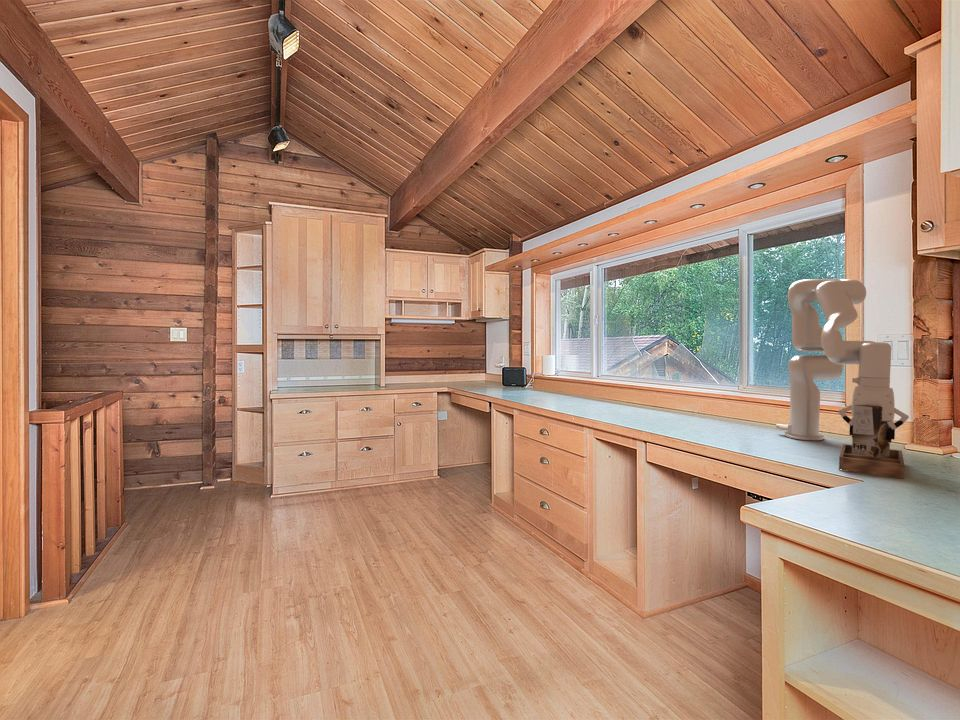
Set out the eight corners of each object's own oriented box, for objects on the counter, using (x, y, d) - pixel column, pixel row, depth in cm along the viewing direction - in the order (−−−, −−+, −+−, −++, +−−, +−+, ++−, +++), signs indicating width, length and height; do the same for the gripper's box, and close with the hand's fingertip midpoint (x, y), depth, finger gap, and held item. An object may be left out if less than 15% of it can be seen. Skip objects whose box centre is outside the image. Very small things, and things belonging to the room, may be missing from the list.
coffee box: (875, 461, 146) (877, 407, 145) (850, 456, 152) (852, 404, 151) (890, 456, 151) (893, 404, 149) (866, 452, 156) (868, 401, 155)
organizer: (838, 470, 146) (839, 456, 146) (842, 456, 162) (843, 444, 161) (903, 479, 137) (904, 464, 137) (901, 463, 152) (901, 450, 152)
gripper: (837, 382, 152) (835, 438, 153) (912, 386, 141) (909, 446, 143) (839, 380, 158) (837, 433, 159) (911, 383, 147) (908, 441, 148)
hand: (871, 439), depth 151 cm, fingers closed on coffee box, 8 cm apart
